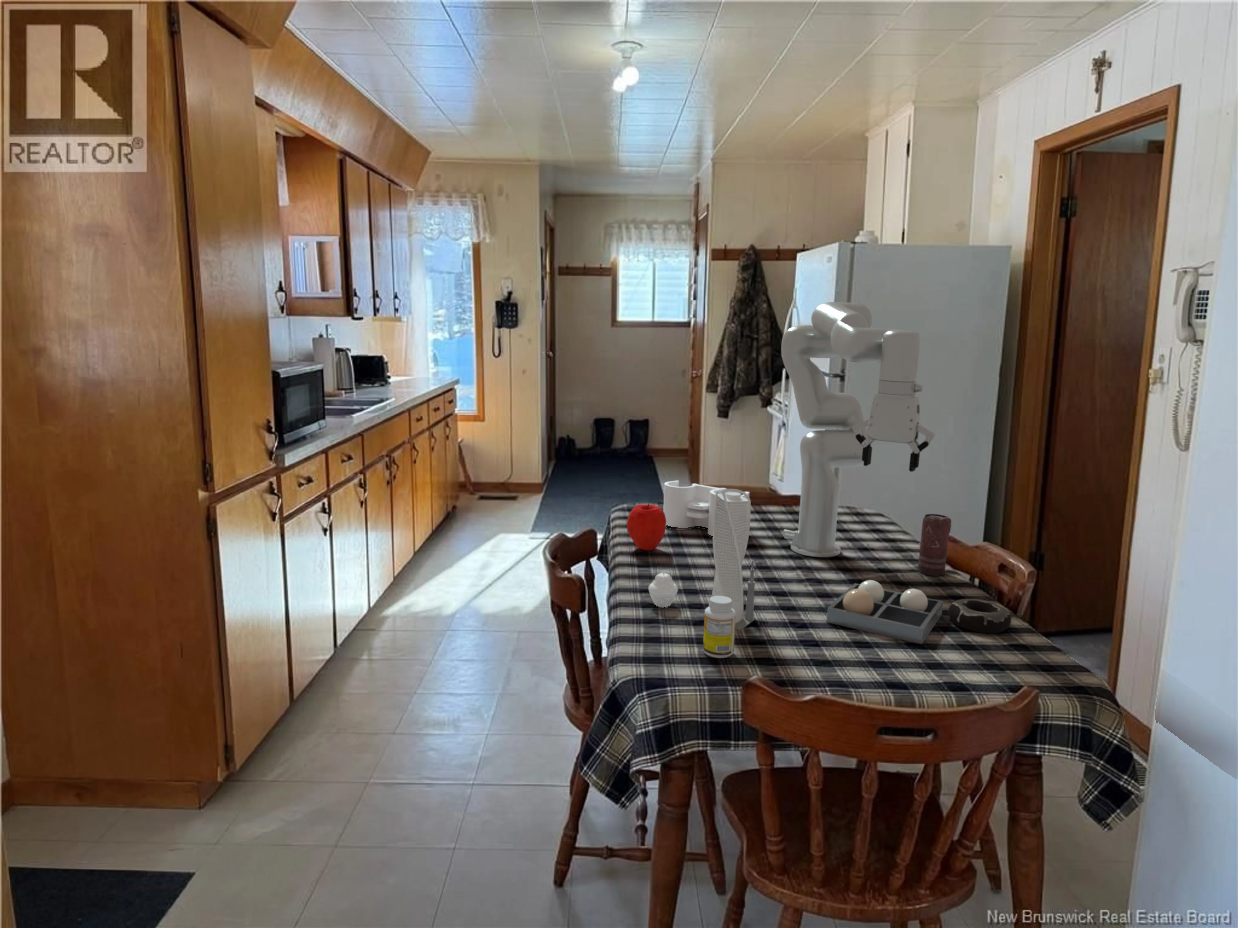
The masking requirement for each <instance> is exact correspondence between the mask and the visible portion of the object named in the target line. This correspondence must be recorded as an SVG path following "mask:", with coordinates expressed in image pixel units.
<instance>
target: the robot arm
mask: <svg viewBox="0 0 1238 928" xmlns="http://www.w3.org/2000/svg"><path fill="white" fill-rule="evenodd" d="M872 315H873V314H872V313H871V310H870V308H869V307H868V306H866V305H865V304H863V303H861V302H845V301H844V302H841V301H840V302H839V301H830V302H829V301H828V302H825V303H821V304H819V305H818V306H817V307H815V308H814V310H813V311H812V314H811V319H810V320H811V324H802V325H796V326H792V327H790V328H788V329H787V330H786V331H785V332H784V334H783V335H782V339H781V348H780V350H781V358H782V359H781V360H782V361H783V362H782V363H783V365H784V368H785V370H786V372H787V375H788V376H789V379H790V382H791V383H792V387H793V394H794V398H795V403H796V409H797V412H798V417H799V420H800V422H801V424H802V426H804V428H806V429H810V430H811V429H813V431H810V432H807V433H805V434H804V436H802V438H801V441H800V444H799V453H800V461H801V462H800V465H801V485H800V486H801V487H800V502H799V517H798V528H797V530H795V531H793V530H789V529H787V528H786V529H783V531H782V537H784V539H786V540H791V541H792V542H791V544H790V549H791V550H792V551H793V552H794V553H797V554H800V555H803V556H806V557H807V556H808V557H815V558H831V557H836V556H838V555H840V554H841V547H840V546H839V545H838V544H836V537H837V535H836V533H837V522H838V511H839V500H840V499H839V498H840V484H839V480H838V479H837V476H836V475H835V474H834V471H833V469H838V468H857V467H862V466H864V467H867V466H869V465H871V463H872V454H873V453H872V451H873V447H872V446H871V445H872V443H874V441H877V442H878V441H879V442H885V443H886V442H888V443H897V444H908V446H909V448H910V449H911V450H912V452H910V457H909V466H908V470H909V472H910V473H911V472H914V471H916V469H917V468H919V465H920V456H921V452H923V450H925V449H926V448H927V447H929V446H930V444H931V443H932V441H933V440H934V439H935V437H936V434H935V433H934V432H933V431H931V430H930V429H928V428H927V427H925V426H924V425H922V424H921V412H920V411H921V406H920V405H921V404H920V397H919V396H916V394H917V393H919V392H920V393H922V392H923V390H924V386H923V385H920V384H918V381H917V379H918V377H917V375H918V364H919V356H920V345H921V336H920V334H919V333H918V332H917V331H913V330H902V329H899V328H886V327H885V328H882V327H872V323H873V321H872V320H873V317H872ZM811 359H843V360H845V361H847V362H848V361H849V362H851V363H875V364H876V363H878V364H880V365H879V366H880V367H879V377H878V387H877V388H878V389H877V393H875V394H874V397H873V399H872V402H871V407H870V410H869V411H870V412H869V417H868V419H867V420H865V418H864V414H863V410H862V406H861V403H860V401H859V399H858V398H857V397H856V396H855V395H853V394H851V393H848V392H833V391H830V390H829V389H828V385H827V382H826V381H827V380H826V377H825V375H824V373H823V372H822V370H821V369H820V368H819V366H818V365H816V364H815V363H814V362H813V361H812V360H811ZM920 434H922V435H924V437H925V439H924V441H922V442H921V443H920V442H918V439H919V436H920Z"/></svg>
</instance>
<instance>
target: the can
mask: <svg viewBox="0 0 1238 928" xmlns="http://www.w3.org/2000/svg"><path fill="white" fill-rule="evenodd" d="M951 529H952V519H951V518H950V517H948V516H947V515H945V514H944V515H942V514H937V513H928V514H925V515H924V517H923V518H922V526H921V533H920V534H921V535H920V542H919V543H920V544H919V545H920V546H919V552H918V553H919V554H918V564H917V569H918V570H917V571H918V572H919V573H921V574H923V575H926V576H931V577H941V576H943V575H944V574H945V573H946V566H947V565H946V564H947V556H948V546H949V539H950V538H949V537H950V533H951ZM942 574H943V575H942ZM940 575H941V576H940Z"/></svg>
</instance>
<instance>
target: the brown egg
mask: <svg viewBox="0 0 1238 928" xmlns="http://www.w3.org/2000/svg"><path fill="white" fill-rule="evenodd" d="M843 607H844V610H845V611H850V612H854V613H859V614H863V615H868V616H869V615H870V614H871V612H872V611H873V608H874V601H873V598H872V596H871V595H870V594H869V593H868V592H867V591H865V590H862V589H853V590H851V591H849V592H848V593H847V594H846V595H845V597H844V599H843Z"/></svg>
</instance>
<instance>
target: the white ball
mask: <svg viewBox="0 0 1238 928" xmlns="http://www.w3.org/2000/svg"><path fill="white" fill-rule="evenodd" d="M902 593H903V594H902V595H901V598H900V605H901V607H904V608H908V609H913V610H918V611H922V612H924V611H925V610H926V608H927V606H928V600H927V598H928V597H927V595H926V594H925V593H924V591H922V590H920V589H918V588H908V589H906V590H905V591H904V592H902Z"/></svg>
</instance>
